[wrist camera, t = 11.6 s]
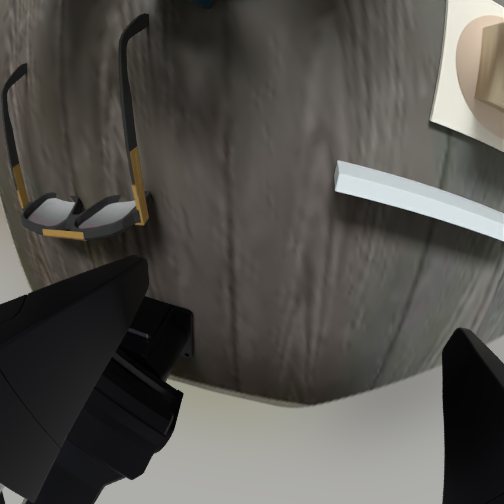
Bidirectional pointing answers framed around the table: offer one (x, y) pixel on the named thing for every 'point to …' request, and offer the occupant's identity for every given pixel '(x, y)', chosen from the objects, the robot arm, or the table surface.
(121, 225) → the sunglasses
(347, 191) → the low wall
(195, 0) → the watch
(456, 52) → the pad
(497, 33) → the maple block
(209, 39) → the table surface
